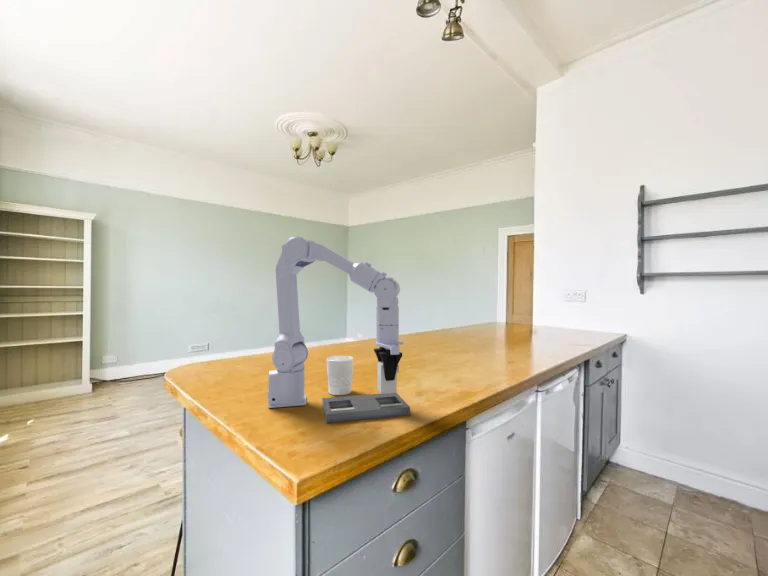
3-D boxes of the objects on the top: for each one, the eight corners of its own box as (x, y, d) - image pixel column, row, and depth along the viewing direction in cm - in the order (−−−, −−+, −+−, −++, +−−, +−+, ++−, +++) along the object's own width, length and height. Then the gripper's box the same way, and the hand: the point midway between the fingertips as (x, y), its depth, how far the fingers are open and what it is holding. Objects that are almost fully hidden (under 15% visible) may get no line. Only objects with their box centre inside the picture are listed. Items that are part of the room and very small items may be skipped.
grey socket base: (326, 423, 79) (326, 413, 79) (322, 405, 91) (322, 397, 91) (409, 415, 84) (409, 405, 84) (396, 399, 96) (396, 391, 96)
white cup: (327, 388, 106) (327, 355, 106) (353, 387, 107) (353, 355, 107) (325, 396, 98) (325, 361, 98) (353, 395, 99) (353, 360, 99)
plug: (381, 393, 86) (381, 365, 86) (377, 388, 90) (377, 361, 90) (399, 392, 87) (399, 364, 87) (395, 387, 91) (395, 361, 91)
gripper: (411, 327, 83) (411, 384, 83) (394, 321, 97) (394, 370, 97) (382, 328, 81) (382, 386, 81) (369, 322, 95) (370, 372, 95)
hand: (387, 378), depth 89 cm, fingers closed on plug, 4 cm apart
